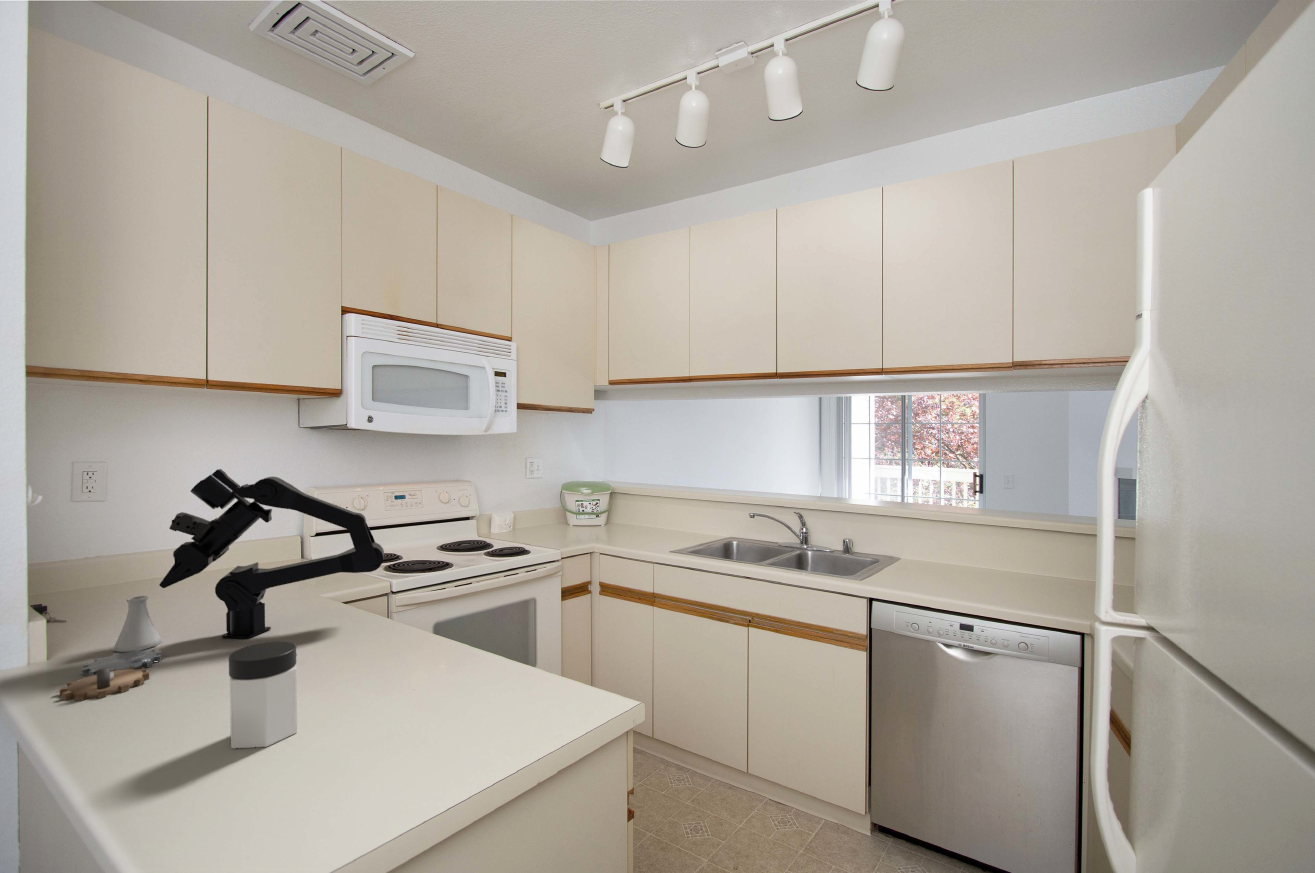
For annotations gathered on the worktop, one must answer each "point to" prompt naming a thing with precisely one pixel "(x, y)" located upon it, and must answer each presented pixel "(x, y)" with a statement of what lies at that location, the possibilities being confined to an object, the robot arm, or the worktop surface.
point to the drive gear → (104, 683)
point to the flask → (137, 628)
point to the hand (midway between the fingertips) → (168, 581)
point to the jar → (263, 694)
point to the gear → (123, 661)
